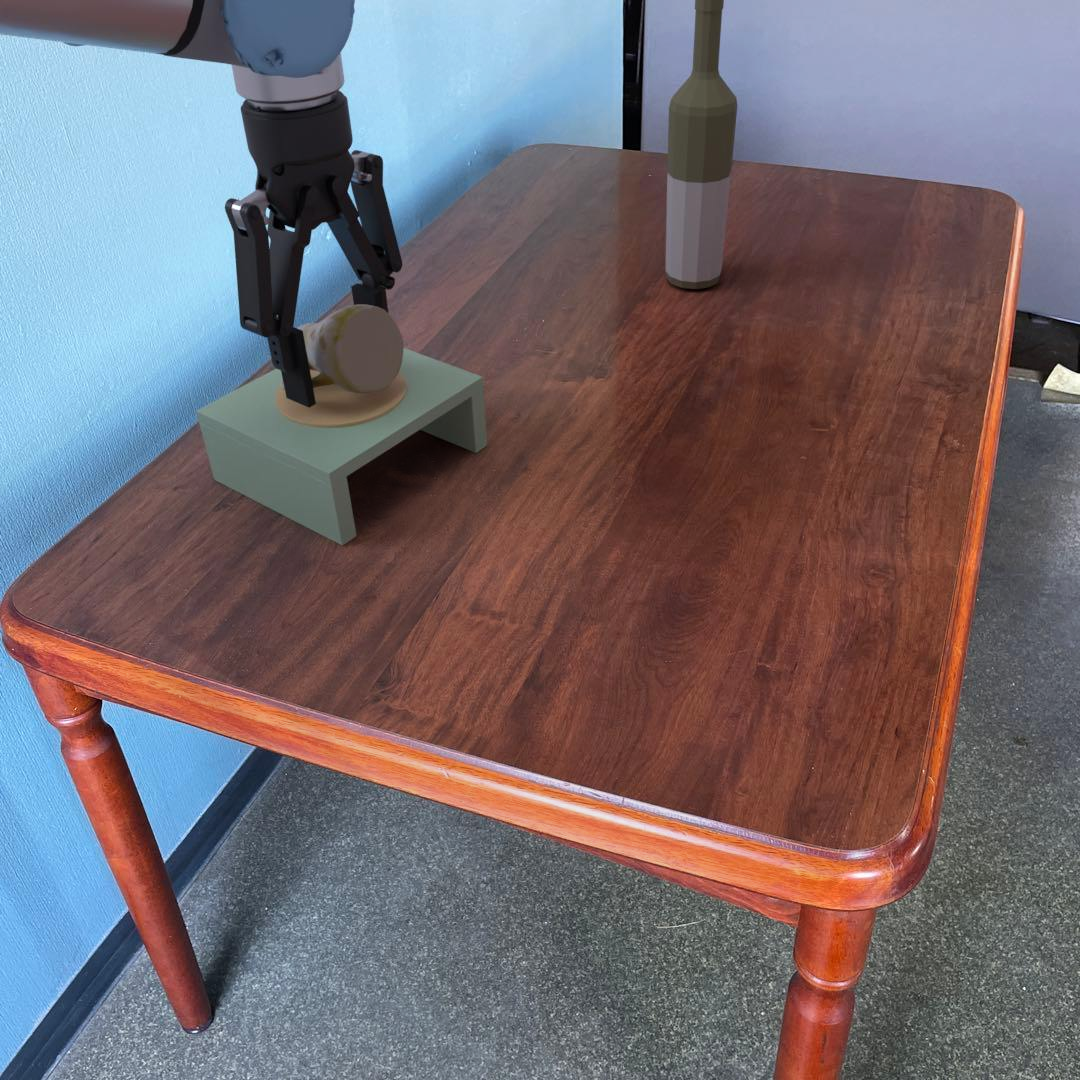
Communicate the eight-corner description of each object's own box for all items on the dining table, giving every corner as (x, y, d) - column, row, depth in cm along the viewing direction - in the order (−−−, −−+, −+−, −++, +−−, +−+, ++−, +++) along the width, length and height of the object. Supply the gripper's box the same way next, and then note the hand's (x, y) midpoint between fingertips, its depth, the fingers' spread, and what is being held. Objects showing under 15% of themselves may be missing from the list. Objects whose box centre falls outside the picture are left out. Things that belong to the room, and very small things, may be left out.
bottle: (727, 293, 120) (751, -3, 101) (664, 295, 120) (676, -1, 101) (720, 267, 125) (741, -18, 107) (659, 269, 125) (670, -16, 107)
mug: (323, 346, 95) (364, 259, 89) (387, 425, 93) (433, 341, 86) (253, 359, 90) (291, 267, 84) (318, 443, 87) (362, 355, 81)
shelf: (214, 479, 93) (195, 407, 89) (361, 394, 104) (351, 325, 100) (342, 546, 85) (328, 469, 81) (487, 445, 96) (482, 373, 92)
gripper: (209, 144, 68) (274, 448, 82) (431, 68, 80) (455, 343, 94) (137, 124, 71) (211, 419, 85) (360, 55, 84) (393, 321, 98)
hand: (339, 379), depth 90 cm, fingers closed on mug, 8 cm apart
